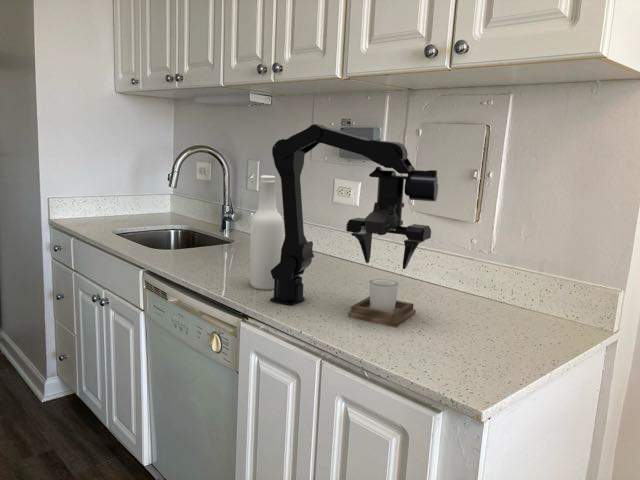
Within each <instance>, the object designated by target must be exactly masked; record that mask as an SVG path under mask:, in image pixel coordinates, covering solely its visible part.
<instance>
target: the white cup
mask: <svg viewBox="0 0 640 480" xmlns="http://www.w3.org/2000/svg"><path fill="white" fill-rule="evenodd" d="M368 285H369V297H370V309H374V310H379V311H384V312H389V313H394V310H395V304H396V300H397V297H398V291H399V282H397V280H392V279H386V278H384V279H383V278H374V279H371V280H369V284H368Z"/></svg>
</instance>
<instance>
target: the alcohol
mask: <svg viewBox="0 0 640 480" xmlns="http://www.w3.org/2000/svg"><path fill="white" fill-rule="evenodd" d="M259 181H260V182H259V183H260V186H259V187H260V188H259V198H258V199H259V200H258V208H257V210H256V212H255V213H254V214H253V215H252V217H251V221H250V248H249V249H250V251H249V252H250V259H249V260H250V262H249V263H250V265H249V268H250V270H249V271H250V273H249V274H250V275H249V276H250V277H249V284H250V285H251V287H252V288H253V289H256V290H260V291H272V290H273V291H274V279H273V278H272V275H271V270H272V269H273V268H274V267H275V266H276V265H278V264H279V263H280V258H281V249H282V245H283V242H284V237H285V228H284V217H282V216H281V214H280V213H279V211H278V209H277V198H276V196H277V195H276V176H275V175H261V176H260V180H259Z"/></svg>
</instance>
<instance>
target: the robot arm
mask: <svg viewBox="0 0 640 480" xmlns="http://www.w3.org/2000/svg"><path fill="white" fill-rule="evenodd" d="M320 144H325V145H327V146H330V147H334V148H338V149H341V150H343V151H347V152H351V153H355V154H357V155H360V156H363V157H365V158H367V159H368V160H370V161H372V162H373V163H376V164H378V165H379V166H376V167H375V169H374V170H373V171H372V172H370V173H369V175H368V177H370V178H378V180H377V193H376V194H377V195H376V196H377V197H376V202H374V205H373V210H372V212H371V211H370V212H369V214H368V215H367V216H365V218H364V217H355V218H350V219H349V220H348V221H347V222H346V224H345V225H346V226H345V227H346V228H345V231H346V232H347V233H348V232H349V233H351V236H352V237H355V239H357V241H358V243H359V245H360V248H361V251H362V254H363V257H364V262H365V263H366V264H369V263H370V259H371V254H372V253H371V252H372V241H373V234H374V235H375V234H376V235H378V236H386V234H395V235H401V236H402V235H403V236H405V237H406V238H407V239H404V240H403V243H404V253H403V259H402V269H403V270H405V269H407V267H408V265H409V263H410V261H411V258H412V257H413V254H414V253H415V251H416V249H417V248H418V246H419V244H421V243H424V242H425V241H427V240H428V239H431V235H432V229H431V227H430V225H425V224H424V225H423V224H418V223H417V224H416V223H415V224H410V225H408V226H403V224H404V220H402V214H403V208H405V202H403V198H404V195H405V196H407V197H408V198H409V200H410V201H423V202H424V201H425V202H437V199H438V193H439V184H438V181H439V180H438V170H437V169H430V170H424V169H423V170H422V169H420V170H419V169H415V167H414V166H413V164H412V162H411V161H410V159H409V158H408V156H409V155H408V150H407V148H406V146H405V145H404V144H403V143H401V142H398V141H387V140H376V139H368V138H365V137H361V136H357V135H355V134H352V133H348V132H345V131H341V130H336V129H333V128H330V127H327V126H325V125H323V124H316V123H314V124H311V125H310V126H307V128H306V129H303V130H302V131H300V132H297V133H296V134H294V135H292V136H289V137H288V138H281V139H279V140H277V141H276V142H275V144H273V145H272V147H271V148H272V149H271V153H272V154H271V155H272V158H273V159H272V160H273V164H274V167H275V169H276V171H277V173H278V175H279V177H280V183H281V184H280V185H281V199H282V200H281V201H282V213H283V223H284V238H283V245H282V249H281V258H280V263H279V264H278V265H276V266H275V267H274V268H273V269H272V270H271V275H272V278H273V279H274V290H273V297H270V299H269V300H270V302H273V303H274V302H275V303H279V304H283V305H288V306H294V305H295V304H297V303H300V302H302V301H304V300H305V299H306V298H305V297H304V283H303V276H301V275H303V274H304V272H305V270H306V269H307V268H309V267H310V265H311V264H312V261H313V258H315V255H314V252H313V246H314V243H313V242H314V241H313V240H311V241H308V240H307V238H306V236H305V233H304V232H305V231H304V230H305V229H304V217H303V216H304V215H303V202H302V200H303V199H302V189H301V188H302V186H301V185H302V184H301V175H302V171H303V168H304V165H305V157H306V154H307V153H308V152H310V151H312V150H313V149H314V148H316V147H317V146H318V145H320ZM382 167H383V168H386V169H392V170H384V169H382ZM397 173H398V174H404V175H397ZM405 174H406V175H405Z"/></svg>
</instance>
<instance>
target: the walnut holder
mask: <svg viewBox="0 0 640 480" xmlns="http://www.w3.org/2000/svg"><path fill="white" fill-rule="evenodd" d="M416 311H417V310H416V309H414V303H412V302H406V301H401V300H398V299H396V304H395V310H394V313H389V312H384V311H379V310H374V309H370V296H368V297H366V298H364V299H363V300H361V301H358V302H356V303H355V304H353V305H351V308H350V311H348V312H347V317H348V318H350V319H351V318H352V319H356V320H362V321H366V322H369V323H370V322H371V323H375V324H380V325H385V326H388V327H393V328H398V327H399V326H400V325H402V324H404V323H405V322H406V321H408V320H409V319H411V318H412V317H414V316H415V315H416Z"/></svg>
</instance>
